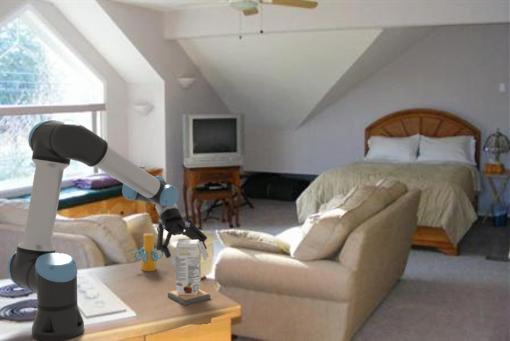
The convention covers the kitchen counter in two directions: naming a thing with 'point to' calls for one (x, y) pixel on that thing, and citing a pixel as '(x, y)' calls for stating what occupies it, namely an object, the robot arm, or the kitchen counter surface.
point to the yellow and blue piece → (148, 253)
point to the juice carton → (188, 267)
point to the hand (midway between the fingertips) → (190, 261)
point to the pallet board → (189, 297)
